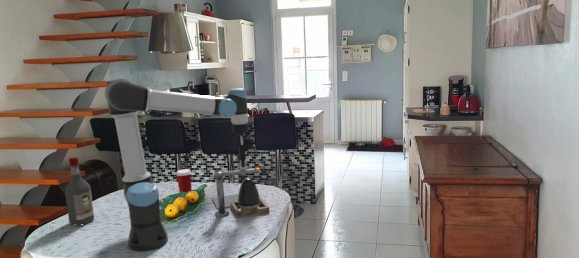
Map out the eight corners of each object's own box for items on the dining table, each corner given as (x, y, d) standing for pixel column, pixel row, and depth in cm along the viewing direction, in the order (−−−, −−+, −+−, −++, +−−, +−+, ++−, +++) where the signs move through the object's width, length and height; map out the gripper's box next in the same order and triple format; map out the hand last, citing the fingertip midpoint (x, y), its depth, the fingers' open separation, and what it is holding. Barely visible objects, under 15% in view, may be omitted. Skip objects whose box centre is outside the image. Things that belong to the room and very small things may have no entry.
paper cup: (195, 194, 240) (193, 168, 238) (191, 199, 233) (188, 173, 230) (181, 194, 241) (178, 169, 239) (176, 199, 234) (173, 173, 231)
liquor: (66, 223, 209) (57, 159, 203) (83, 216, 216) (75, 154, 211) (80, 226, 204) (71, 161, 199) (97, 219, 212) (88, 156, 207)
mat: (217, 209, 217) (217, 208, 217) (212, 199, 232) (211, 197, 232) (250, 204, 222) (250, 203, 222) (243, 194, 237) (242, 193, 237)
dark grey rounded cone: (250, 215, 208) (248, 183, 205) (234, 211, 214) (231, 179, 211) (265, 208, 216) (263, 177, 213) (248, 204, 222) (246, 174, 219)
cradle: (237, 217, 206) (237, 212, 205) (231, 207, 220) (230, 202, 219) (269, 212, 210) (269, 207, 210) (261, 202, 224) (260, 197, 224)
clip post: (216, 217, 207) (213, 180, 204) (214, 212, 213) (211, 176, 210) (230, 215, 209) (227, 178, 206) (227, 210, 215) (224, 174, 212)
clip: (214, 178, 205) (214, 174, 205) (213, 175, 209) (213, 171, 209) (261, 173, 209) (260, 169, 209) (259, 170, 214) (259, 166, 213)
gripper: (249, 124, 201) (252, 176, 206) (247, 119, 214) (250, 168, 219) (232, 126, 200) (236, 178, 205) (231, 120, 213) (234, 170, 217)
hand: (243, 173), depth 212 cm, fingers closed
